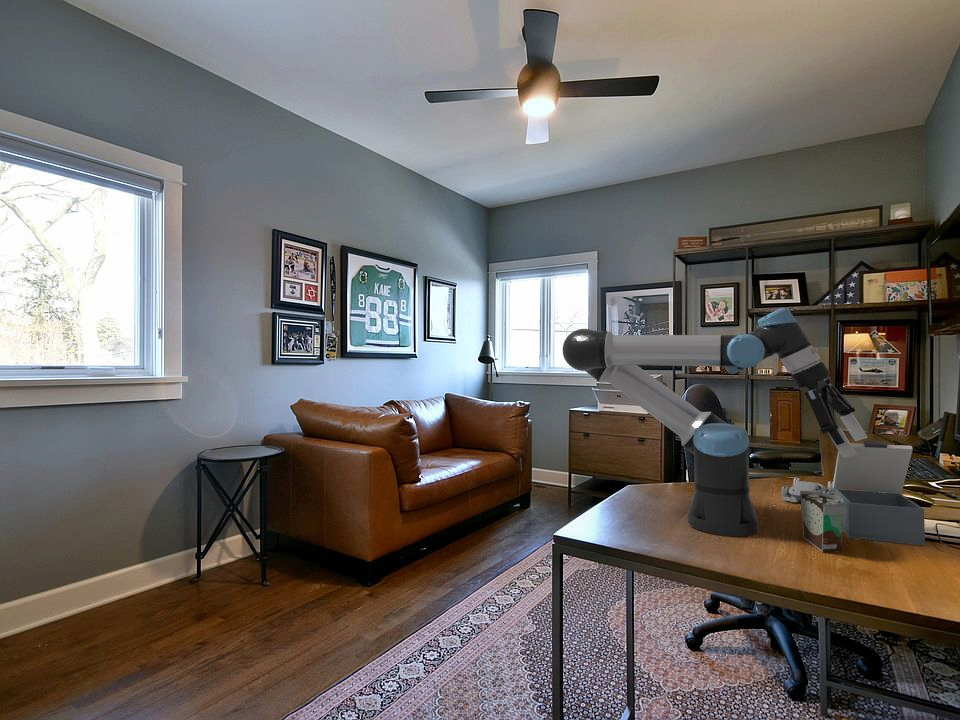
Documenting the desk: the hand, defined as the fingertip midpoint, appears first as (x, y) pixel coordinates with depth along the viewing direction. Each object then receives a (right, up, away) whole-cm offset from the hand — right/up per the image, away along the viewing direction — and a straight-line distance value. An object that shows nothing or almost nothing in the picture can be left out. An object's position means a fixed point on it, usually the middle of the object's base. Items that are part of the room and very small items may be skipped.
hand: (856, 447), depth 121 cm
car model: (+5, -19, +25) cm, 32 cm away
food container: (-16, -18, -13) cm, 28 cm away
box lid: (+2, -4, -3) cm, 5 cm away
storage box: (+1, -18, -5) cm, 19 cm away
